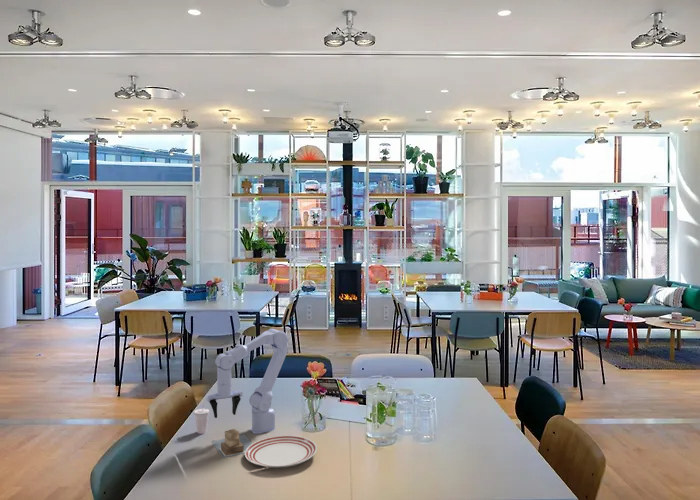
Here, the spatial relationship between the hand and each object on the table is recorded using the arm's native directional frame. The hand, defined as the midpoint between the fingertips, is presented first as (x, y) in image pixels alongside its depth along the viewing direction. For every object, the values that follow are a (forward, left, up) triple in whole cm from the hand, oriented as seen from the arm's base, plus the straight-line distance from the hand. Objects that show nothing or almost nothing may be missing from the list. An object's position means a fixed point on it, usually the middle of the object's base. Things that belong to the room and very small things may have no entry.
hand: (224, 415), depth 220 cm
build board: (-1, +10, -10) cm, 14 cm away
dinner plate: (-14, +28, -10) cm, 33 cm away
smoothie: (+7, -11, -10) cm, 16 cm away
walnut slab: (+1, +14, -9) cm, 17 cm away
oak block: (+1, +14, -7) cm, 15 cm away
